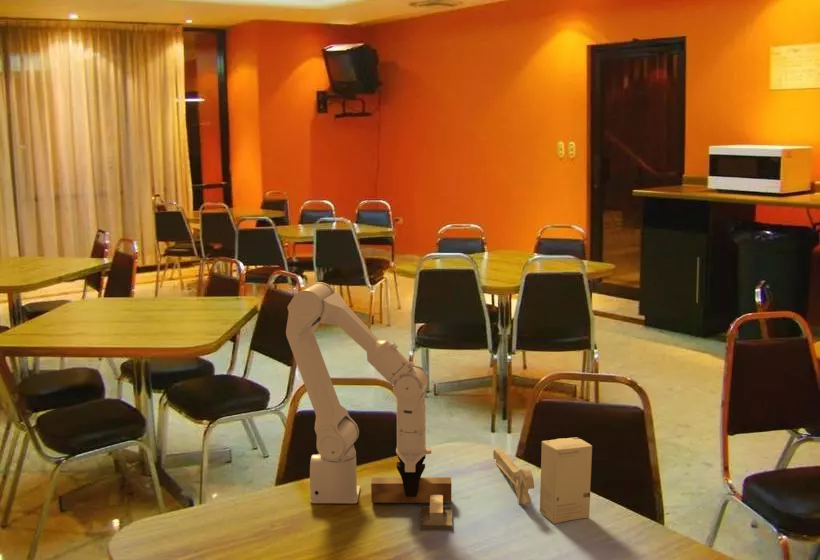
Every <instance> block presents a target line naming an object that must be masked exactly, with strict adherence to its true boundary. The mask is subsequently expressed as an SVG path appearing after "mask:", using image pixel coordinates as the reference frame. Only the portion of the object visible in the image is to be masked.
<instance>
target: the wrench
mask: <svg viewBox="0 0 820 560" xmlns="http://www.w3.org/2000/svg"><path fill="white" fill-rule="evenodd" d="M492 457H493V460H494V459H496V463H497V464H496V463H495V464H496V465H497V467H498V468H499V469H500V470H501V471H502V473H504V475H505V476H506V477H507V478H508V480H509V481H510V482H511V483H512V484H513V487H514V490H515V493H516V496H517V502H518V505H524V506H530V505H531V504H532V499H531V495H530V493H529V489H531V490H532V489H535V481H534V477H533V473H532V471H531V469H530V468H528V467H527V468H518V466H517V465H516V464H515V463H514V461H513V460H511V458H510V457H509V456H508V455H507V454H506V452H505V451H504V450H503V449H502V448H494V449H493V455H492Z"/></svg>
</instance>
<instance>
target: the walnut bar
mask: <svg viewBox="0 0 820 560" xmlns="http://www.w3.org/2000/svg"><path fill="white" fill-rule="evenodd" d="M370 489H371V490H370V491H371V494H370V495H371V503H430V495H443V503H452V476H451V477H449V476H448V477H447V476H445V477H441V476H440V477H420V481H419V487H418V492H417V496H416V497H406V495H405V491H404V486H403V481H402V478H401V477H371V482H370Z"/></svg>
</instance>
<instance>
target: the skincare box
mask: <svg viewBox="0 0 820 560" xmlns="http://www.w3.org/2000/svg"><path fill="white" fill-rule="evenodd" d="M592 456H593V445H591V443H588V442H587V441H585V440H584V439H581V438H579V437H576V436H575V437H567V438H564V437H563V438H556V439H550V440H548V439H547V440H542V441H541V456H540V457H541V458H540V459H541V462H540V463H541V464H540V487H539V489H540V490H539V491H540V492H539V512H540V514H541V515H543V516H544V517H545V518H546V519H547V520H548V521H550V523H552V524H554V525H555V524H558V523H562V522H569V520H570V521H575V520H581V519H588V518H590V508H591V506H590V505H591V484H592V483H591V479H592V459H593V458H592Z"/></svg>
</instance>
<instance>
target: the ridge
mask: <svg viewBox="0 0 820 560" xmlns="http://www.w3.org/2000/svg"><path fill="white" fill-rule="evenodd" d="M420 507H421V508H420V523H419V524H420V527H419V528H420V531H453V510H452V509H453V506H444V502H443V495H430V502H429V506H420Z"/></svg>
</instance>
